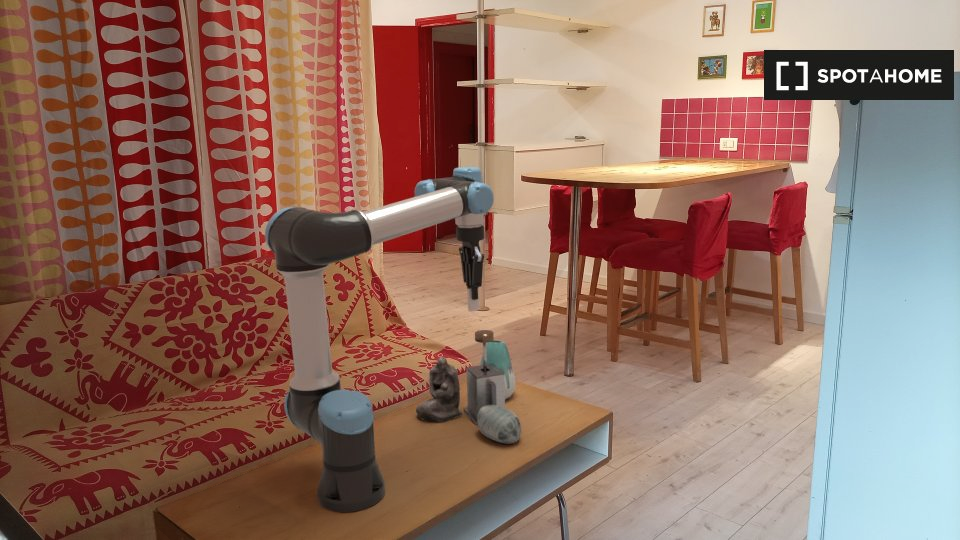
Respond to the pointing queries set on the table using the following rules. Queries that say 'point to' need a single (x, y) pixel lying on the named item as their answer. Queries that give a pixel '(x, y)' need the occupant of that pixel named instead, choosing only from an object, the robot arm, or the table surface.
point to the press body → (484, 389)
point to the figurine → (441, 394)
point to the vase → (501, 363)
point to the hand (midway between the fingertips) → (473, 309)
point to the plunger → (484, 343)
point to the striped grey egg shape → (499, 424)
